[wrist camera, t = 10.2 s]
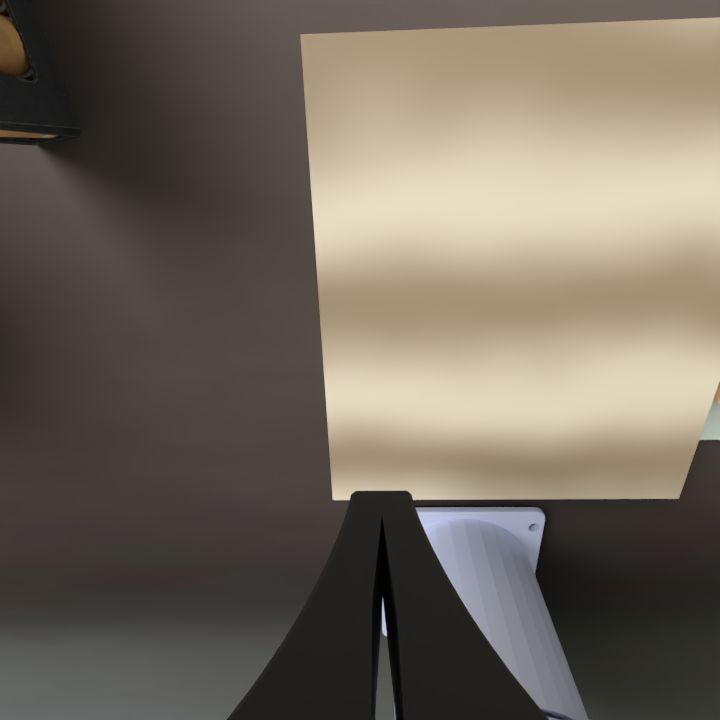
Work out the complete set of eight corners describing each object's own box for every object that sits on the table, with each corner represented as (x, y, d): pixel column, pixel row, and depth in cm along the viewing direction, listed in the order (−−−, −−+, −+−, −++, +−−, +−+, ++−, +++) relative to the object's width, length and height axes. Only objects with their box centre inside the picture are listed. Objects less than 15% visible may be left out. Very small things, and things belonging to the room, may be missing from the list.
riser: (639, 452, 21) (678, 498, 19) (337, 455, 22) (332, 499, 19) (759, 36, 14) (847, 12, 12) (313, 53, 15) (300, 34, 12)
